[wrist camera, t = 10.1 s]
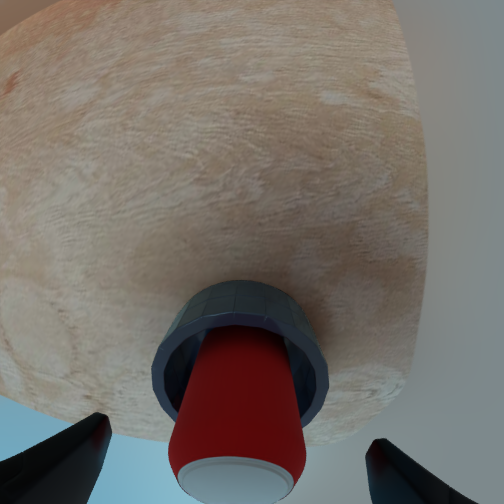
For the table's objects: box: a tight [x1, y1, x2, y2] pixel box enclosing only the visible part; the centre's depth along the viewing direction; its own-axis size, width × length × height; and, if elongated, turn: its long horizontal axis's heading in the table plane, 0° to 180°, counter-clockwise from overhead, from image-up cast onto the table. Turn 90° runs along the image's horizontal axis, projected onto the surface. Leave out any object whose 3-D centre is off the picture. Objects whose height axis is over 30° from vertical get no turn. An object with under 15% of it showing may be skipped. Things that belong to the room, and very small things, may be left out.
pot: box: [151, 280, 329, 428], centre depth 18 cm, size 11×11×6 cm
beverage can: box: [168, 325, 306, 504], centre depth 15 cm, size 6×6×12 cm
